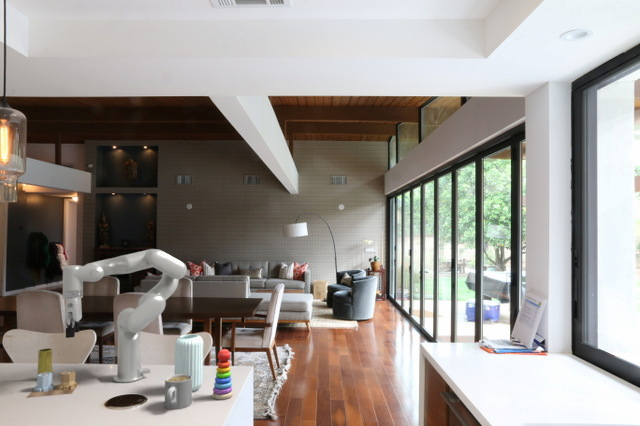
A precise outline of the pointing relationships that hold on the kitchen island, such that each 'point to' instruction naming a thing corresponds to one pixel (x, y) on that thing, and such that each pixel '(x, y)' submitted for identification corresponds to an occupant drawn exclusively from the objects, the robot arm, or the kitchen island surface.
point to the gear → (44, 383)
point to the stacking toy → (223, 377)
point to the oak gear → (67, 381)
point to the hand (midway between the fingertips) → (72, 334)
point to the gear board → (51, 391)
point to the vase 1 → (44, 361)
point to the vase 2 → (190, 358)
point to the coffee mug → (178, 391)
